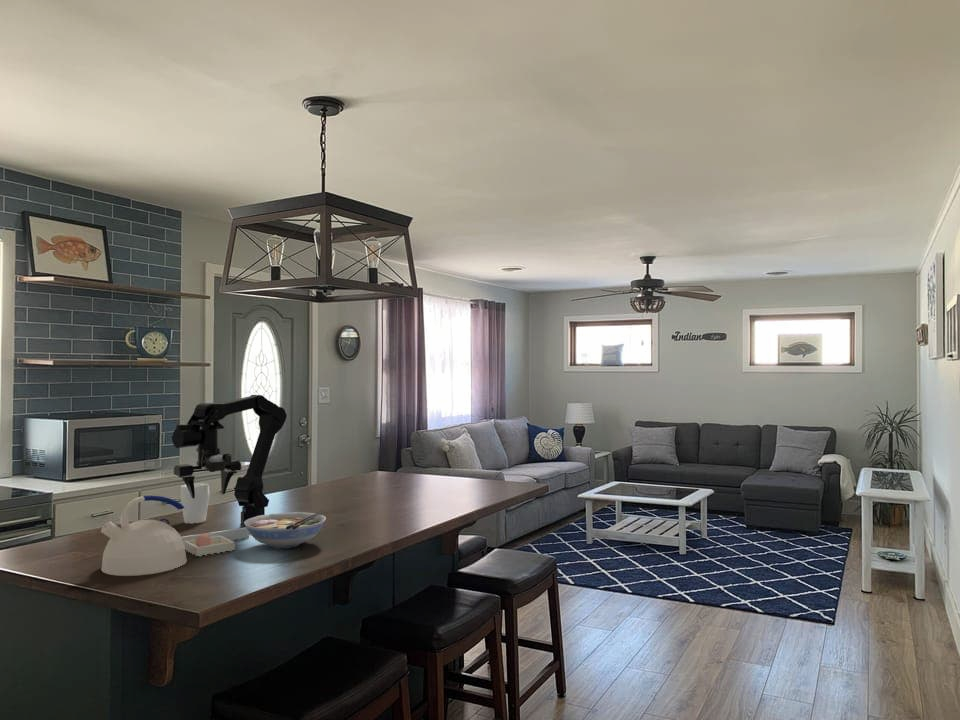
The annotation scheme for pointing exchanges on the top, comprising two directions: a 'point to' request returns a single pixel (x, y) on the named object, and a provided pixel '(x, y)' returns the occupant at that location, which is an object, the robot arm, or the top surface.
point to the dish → (210, 546)
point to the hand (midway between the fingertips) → (208, 496)
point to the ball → (203, 540)
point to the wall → (223, 534)
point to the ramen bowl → (285, 528)
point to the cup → (195, 503)
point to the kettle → (142, 544)
